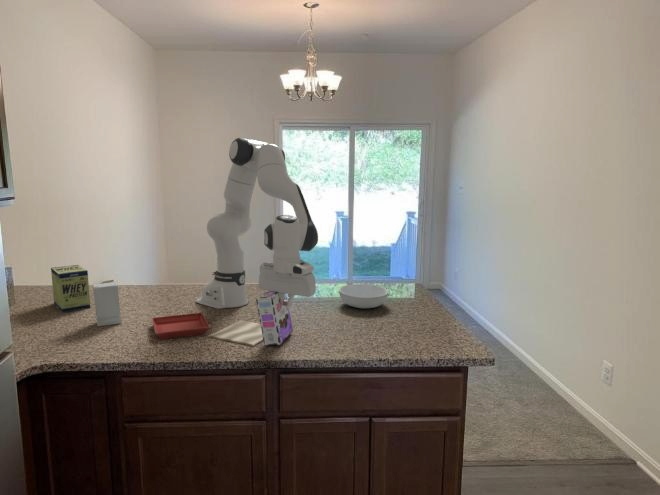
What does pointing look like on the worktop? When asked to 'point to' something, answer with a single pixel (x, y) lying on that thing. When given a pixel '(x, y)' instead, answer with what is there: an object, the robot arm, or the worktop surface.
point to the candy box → (273, 318)
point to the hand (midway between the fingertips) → (286, 305)
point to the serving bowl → (363, 295)
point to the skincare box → (107, 303)
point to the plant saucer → (180, 325)
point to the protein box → (70, 288)
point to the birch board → (241, 333)
